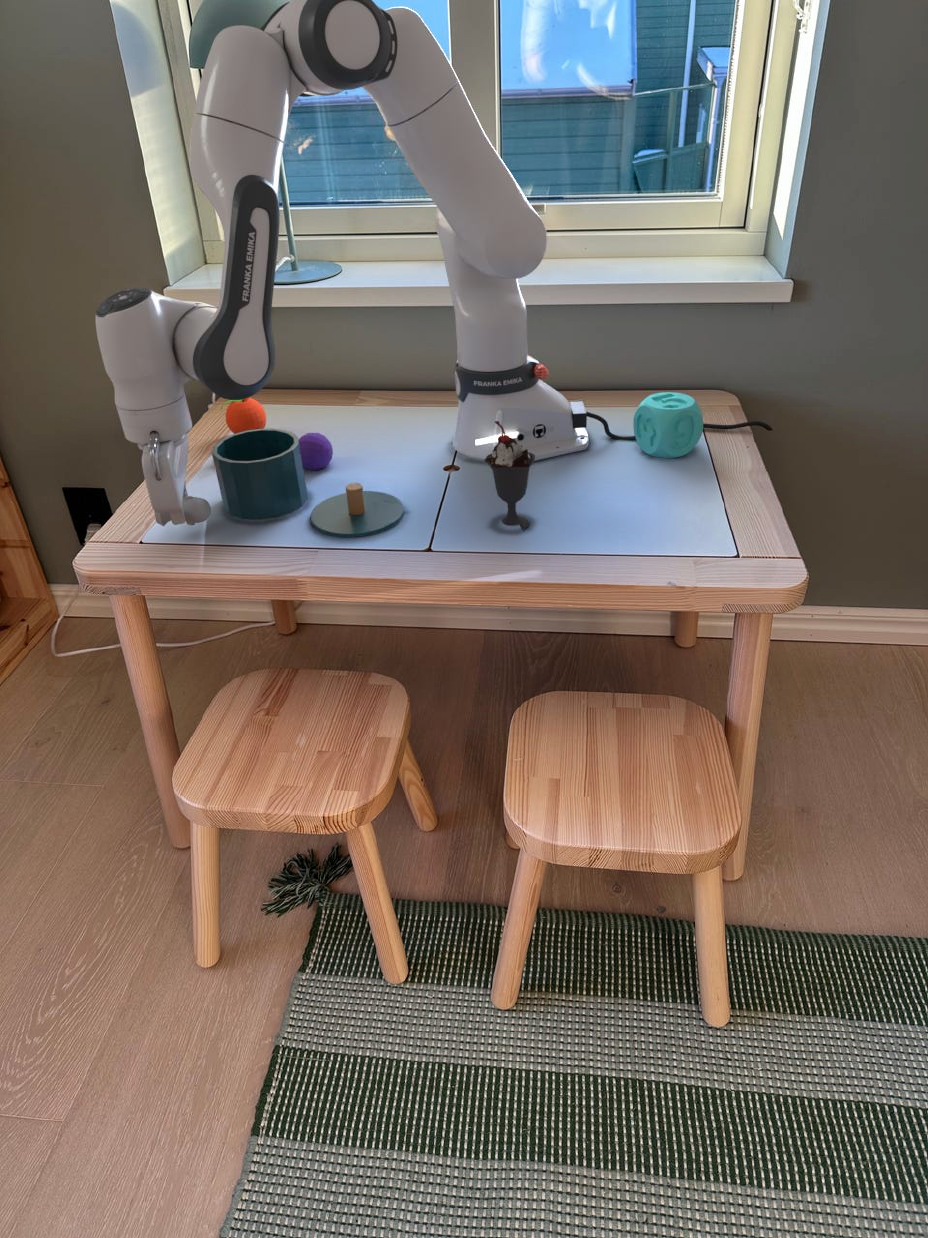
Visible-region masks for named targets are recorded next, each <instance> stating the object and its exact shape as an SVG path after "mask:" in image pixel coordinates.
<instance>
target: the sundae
mask: <svg viewBox="0 0 928 1238" xmlns="http://www.w3.org/2000/svg"><path fill="white" fill-rule="evenodd" d="M495 423H496V424H497V425H498V426H500V427H501V429H502V435H501V436H499V437H498V444H497V445H496V446H494V449H493V451H492V454H489V455H488V456H486V459H485V460H484V462H486V463H487V464H488V466H489V467H490V469H491V470H492V475H493V480H494V481H493V482H494V487H495V491H496V495H497V497H498V498H499V499H500V500H502V501H503V502H505V503H506V504H507V513H506V515H505V516H504V517H503V518H502V519H501V524H503V525H504V526H508V527H515V526H519V527H520V529H521V531H525V530H526V529H528V527H529V526H531V525H530V524H531V523H530V522H531V521H530V520H529V519H528V518H527V517H526V516H523V515H519V514H517V503H518V502H519V501H521V500H522V499H523V498H524V497H525V495H526V493H527V489H528V481H529V473H530V468H531V466H532V465H533V463H534V462H535V461H534V460H535V455H534V454H533V453H530V452H528V450H527V449H526V450H524V449H523V448H522V445H521V443H520V442H518V441H517V440H516V439H513V438H510V437H509V436H508V435H506V434H505V431H504V429H503V427H502V426H501V425H500V424H499V421H495ZM503 432H504V436H503Z"/></svg>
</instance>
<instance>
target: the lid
mask: <svg viewBox="0 0 928 1238" xmlns="http://www.w3.org/2000/svg"><path fill="white" fill-rule="evenodd" d="M404 514H405V513H404V505H403V502H402V501H401V500H400V499H399V498H397V497H395V496H394V495H392V494H389V493H386V492H382V491H373V490H364V488H363V485H362V483H361V482H360V483H359V482H352V483H348V484H346V485H345V493H340V494H336V495H333V496H331V497H328V498H327V499H324V500H322V501H321V502H319V504H317V505H316V506H315V507H313V509H312V511H311V513H310V522H311V525H312V527H313V528H314V529H315V530H317V531H318V532H320V533H322V534H324V535H328V536H331V537H335V538H336V537H337V538H350V539H351V538H362V537H369V536H372V535H376V534H380V533H383V532H385V531H388V530H389V529H391V528H393V527H395V525H397V524H399V522H400V521H401V520H402V518H403V516H404Z"/></svg>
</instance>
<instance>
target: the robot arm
mask: <svg viewBox="0 0 928 1238" xmlns="http://www.w3.org/2000/svg"><path fill="white" fill-rule="evenodd" d="M435 37H436V36H434V34H433V33H432V31H431V30H430V28H429V27H428V25H427V24H426V23H425V21H424V20H423V18H422V17H421V16H420V15H419V14H418V13H417V12H416V11H415V10H413V9H411V8H409V7H406V6H394V7H389V8H386V9H383V8H381V7H380V6H378V5H377V4H376V2H374V1H373V0H291V1H288V2H286V3H284V4H282V5H281V6H279V7H278V8H276V10H274V11H273V13H271V15H270V16H269V17H268V19H267V20H266V21H265V23H264V24H263V25H262V26H261V27H260V28H257V27H254V26H251V25H241V24H240V25H232V26H227V27H225V28H224V29H221V30H220V31H219V33H217V34H216V36H215V38H214V40H213V42H212V44H211V47H210V50H209V52H208V56H207V58H206V62H205V65H204V68H203V71H202V74H201V79H200V82H199V85H198V90H197V95H196V100H195V106H194V111H193V117H192V123H191V129H190V139H189V165H190V172H191V175H192V178H193V180H194V182H195V184H196V185H197V187H198V189H199V190H200V192H201V193H202V194H203V195H204V196H205V198H206V199H207V200H208V201H209V203H210V204H211V205H212V207H213V209H214V210H215V213H216V214H217V217H218V218H219V221H220V223H221V227H222V231H223V238H224V247H223V248H224V250H223V259H222V269H221V270H222V271H221V281H220V292H219V300H218V306H217V307H216V306H214V305H213V304H209V303H207V302H201V301H191V300H182V299H181V300H179V299H175V298H172V297H169V296H166V295H163V294H160V293H157V292H156V291H153V290H152V289H151V288H148V287H133V288H129V289H128V288H126V289H124V290H123V289H122V290H120V291H117V292H115V293H113V294H111V295H109V296H107V297H106V298H105V299H104V300H103V301H102V302H101V303H100V304H99V305H98V306H97V308H96V312H95V330H96V336H97V337H96V338H97V341H98V346H99V350H100V355H101V358H102V362H103V366H104V369H105V373H106V375H107V376H108V378H109V379H110V381H111V382H112V386H113V389H114V403H115V407H116V411H117V413H118V417H119V421H120V423H121V429H122V431H123V434H124V437H125V439H126V440H127V441H129V442H130V443H133V444H137V447H138V449H139V450H140V451H142V455H141V467H142V472H143V477H144V481H145V485H146V489H147V493H148V498H149V501H150V504H151V507H152V510H153V512H154V511H155V512H156V513H164V512H169V514H170V517H171V520H172V521H171V523H172V524H173V525H174V526H178V525H183V524H185V523H186V521H185V520H186V515H185V511H184V507H182V500H183V498H184V497H187V496H189V494H188V491H187V485H186V484H187V483H186V475H187V468H188V459H189V452H190V451H189V449H190V448H189V439H188V433H189V432H190V431H191V429H192V428H193V421H192V417H191V413H190V410H189V409H190V408H189V404H188V401H187V397H186V393H185V384H186V383H188V382H191V381H197V382H198V383H200V384H202V385H203V386H204V387H205V388H207V389H208V390H209V391H210V392H212V394H214V395H216V396H217V397H220V398H221V399H224V400H227V401H229V400H241V399H245V398H251V397H253V396H255V395H256V394H257V393H258V392H260V391H261V390H263V388H264V387H265V386H266V385H267V383H268V382H269V380H270V379H271V377H272V375H273V372H274V370H275V366H276V365H275V364H276V348H275V347H276V346H275V341H274V335H273V328H272V308H273V299H274V298H273V297H274V288H275V279H276V271H277V270H276V268H277V259H278V249H279V239H280V238H279V237H280V220H281V218H280V217H281V215H280V200H279V184H280V182H279V181H280V174H281V173H280V172H281V165H282V158H283V151H284V146H285V140H286V135H287V134H286V133H287V128H288V122H289V121H288V119H289V117H290V114H291V111H292V109H293V106H294V104H295V102H296V101H297V99H298V98H299V97H302V98H305V97H306V98H307V97H315V96H317V97H327V96H335V95H339V94H341V93H342V92H345V91H351V90H355V89H359V88H362V89H363V90H364V91H365V92H366V93H367V94H368V95H369V96H370V97H371V99H372V101H373V102H374V103H375V105H376V106H377V110H378V111H379V112H380V114H381V117H382V119H383V120H384V123H385V125H386V126H387V128H388V130H389V132H390V133H391V135H392V137H393V139H394V141H395V143H396V144H397V146H398V148H399V150H400V152H401V154H402V155H403V157H404V159H405V161H406V163H407V165H408V167H409V168H410V170H411V172H412V174H413V175H414V177H415V179H416V181H417V182H418V183H419V184H420V185H421V186H422V188H423V189H424V191H425V192H426V193H427V195H428V196H429V197H430V199H431V200H432V201H433V203H434V205H435V206H436V208H435V213H434V226H435V231H436V233H437V236H438V239H439V241H440V245H441V250H442V255H443V261H444V267H445V273H446V276H447V277H446V278H447V282H448V286H449V290H450V296H451V299H452V300H451V301H452V305H453V312H454V320H455V337H456V338H455V339H456V353H457V355H456V356H457V360H456V361H455V363H454V364H455V366H454V367H455V368H454V369H455V371H454V382H455V383H454V384H455V393H456V396H457V399H458V400H457V401H458V403H457V417H456V426H455V432H454V436H453V440H452V447H453V449H454V450H455V451H457V452H458V453H459V454H461V455H464V456H466V457H469V458H473V459H479V460H484V461H485V459H486V456H488V455H489V454H492V451H493V449H494V446H496V445H497V444H498V437H499V436H501V435H502V429H501V427H500V426H498V425H497V424H496V423H495V421H499V424H500V425H501V426H502V427H503V429H504V431H505V434H506V435H508V436H509V437H510V438H513V439H516V440H517V441H518V442H520V443H521V445H522V448H523V449H524V450H526V449H527V450H528V452H530V453H533V454H534V455H535V460H534V462H535V461H540V460H545V459H549V458H553V457H558V456H563V455H566V454H567V455H568V454H572V453H575V452H580V451H585V450H587V448H588V447H589V444H590V439H589V433H588V431H587V429H586V428H587V423H588V422H587V421H588V418H591V419H594V420H596V421H598V422H600V423H601V424H602V426H603V429H604V432H605V434H606V436H607V437H609V438H610V439H612V440H616V441H617V440H620V441H637V440H636V438H635V435H630V436H621V435H617V434H614V433H613V432H611V430H610V426H609V424H608V421H607V420H606V419H605V418H604V417H603V416H600V415H598V414H596V413H592V412H589V411H587V410H586V407H585V404H584V401H582V400H581V401H580V400H579V401H569V400H568V399H567V398H566V397H565V396H564V395H563V394H562V393H561V392H560V391H558V390H556V389H555V388H553V387H552V386H550V385H549V384H548V383H546V382H544V381H543V380H546V379H547V377H549V373H550V372H549V369H548V368H547V367H546V366H545V364H542V363H540V362H539V361H538V359H536V358H533V357H532V356H531V354H528V311H527V306H526V305H527V304H526V302H525V300H524V298H523V295H522V293H521V290H520V289H521V288H520V285H519V281H518V280H519V279H522V278H524V277H527V276H529V275H530V274H532V273H533V272H534V271H535V270H536V269H537V268H538V267H539V265H541V263H542V261H543V259H544V257H545V254H546V251H547V247H548V232H547V228H546V226H545V223H544V221H543V219H542V217H541V216H540V215H539V214H538V213H537V212H536V210H535V209H534V208H533V206H532V205H531V203H530V202H529V200H528V199H527V196H526V195H525V194H524V192H523V191H522V189H521V187H520V185H519V184H518V183H517V181H516V179H515V178H514V176H513V174H512V173H511V171H510V170H509V168H508V167H507V165H506V164H505V163H504V161H503V159H502V158H501V156H500V155H499V153H498V152H497V151H496V149H495V147H494V146H493V145H492V143H491V141H490V140H489V137H488V136H487V135H486V133H485V131H484V129H483V127H482V124H481V123H480V120H479V119H478V117H477V115H476V113H475V111H474V109H473V107H472V105H471V102H470V101H469V99H468V96H467V94H466V92H465V90H464V88H463V85H462V84H461V82H460V80H459V78H458V76H457V74H456V72H455V70H454V68H453V66H452V64H451V62H450V60H449V59H448V57H447V55H446V53H445V52H444V50H443V48H442V47H441V45H440V44H439V42H438V40H437V39H436V38H435ZM753 426H758V427H761V428H763V429H765V430H766V431H767V432H769V431H774V429H773V428H772V426H771V425H769V424H768V423H766V422H764V421H760V420H750V421H745V422H740V423H735V424H734V423H733V424H715V423H704V422H703V429H713V430H736V429H741V428H746V427H753ZM503 436H504V432H503Z"/></svg>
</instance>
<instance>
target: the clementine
mask: <svg viewBox="0 0 928 1238" xmlns="http://www.w3.org/2000/svg"><path fill="white" fill-rule="evenodd" d="M230 402H231V403H230ZM227 403H230V404H229V405H228V407H227V409H226V411H225V423H226V425H227V428H228V429H229V430H230V432H231V433H232V434H236V433H240V432H244V431H248V430H256V429H265V428H266V425H267V414H266V411H265V409H264V407H263V405H262V404H261V403H260V402H259V401H258V400H256V399H253V397H252V398H251V397H248V398H245V399H241V400H226V402H224V403H223V404H222V405H221V408H220V410H222V409H223V407H224V406H225V405H226V404H227Z"/></svg>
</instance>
